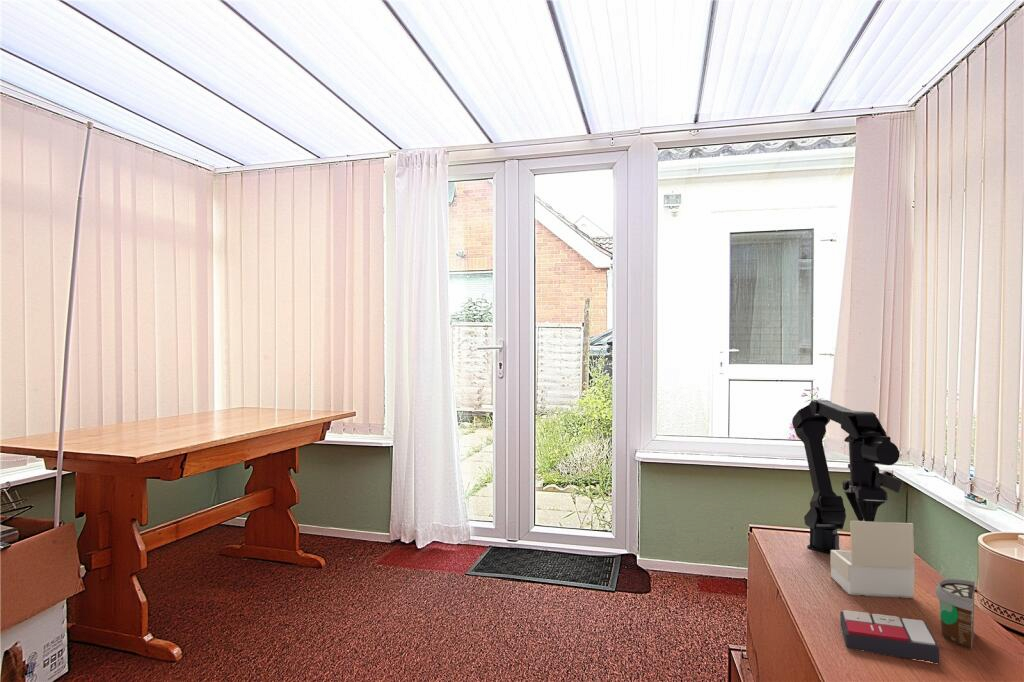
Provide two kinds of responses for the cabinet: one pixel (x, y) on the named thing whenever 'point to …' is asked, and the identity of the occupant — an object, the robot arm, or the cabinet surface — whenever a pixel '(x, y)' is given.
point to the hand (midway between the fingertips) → (865, 524)
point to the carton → (871, 578)
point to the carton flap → (882, 544)
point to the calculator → (889, 635)
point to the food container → (957, 611)
